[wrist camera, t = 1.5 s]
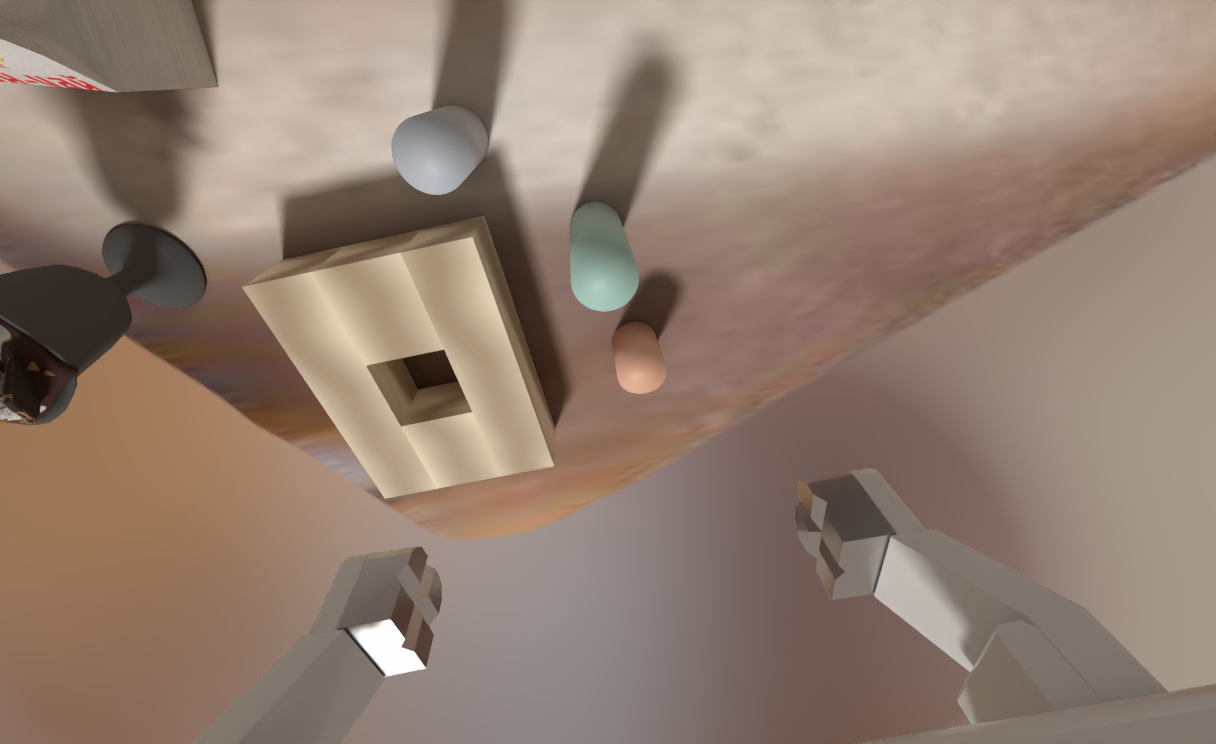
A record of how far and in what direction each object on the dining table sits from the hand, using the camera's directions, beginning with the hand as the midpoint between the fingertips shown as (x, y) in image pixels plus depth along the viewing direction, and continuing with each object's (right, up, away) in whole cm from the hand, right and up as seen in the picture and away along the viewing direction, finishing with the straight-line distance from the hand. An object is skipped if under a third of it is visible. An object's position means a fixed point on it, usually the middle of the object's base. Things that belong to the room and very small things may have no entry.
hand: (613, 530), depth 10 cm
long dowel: (-1, +12, +17) cm, 21 cm away
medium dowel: (-8, +16, +14) cm, 22 cm away
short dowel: (+2, +6, +21) cm, 22 cm away
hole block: (-11, +5, +21) cm, 24 cm away
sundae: (-26, +9, +17) cm, 32 cm away
